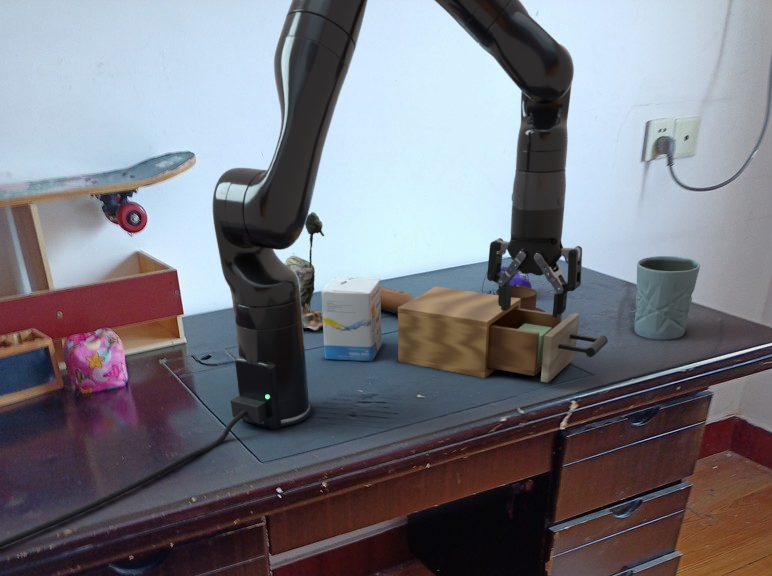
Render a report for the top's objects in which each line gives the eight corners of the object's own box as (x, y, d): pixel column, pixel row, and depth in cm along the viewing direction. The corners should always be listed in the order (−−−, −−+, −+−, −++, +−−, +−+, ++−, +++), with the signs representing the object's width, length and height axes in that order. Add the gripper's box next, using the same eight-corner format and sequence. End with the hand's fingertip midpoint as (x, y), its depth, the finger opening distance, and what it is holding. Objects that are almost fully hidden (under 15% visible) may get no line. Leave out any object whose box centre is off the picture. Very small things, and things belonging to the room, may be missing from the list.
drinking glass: (699, 336, 144) (712, 266, 137) (650, 344, 141) (661, 274, 135) (664, 319, 152) (674, 253, 146) (617, 327, 149) (625, 259, 143)
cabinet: (517, 352, 140) (520, 298, 135) (484, 378, 130) (487, 321, 126) (435, 337, 147) (435, 286, 142) (398, 361, 137) (397, 307, 132)
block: (539, 364, 129) (541, 336, 127) (511, 359, 131) (513, 331, 129) (549, 355, 133) (552, 327, 130) (523, 350, 135) (524, 323, 132)
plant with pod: (302, 313, 160) (294, 204, 150) (341, 326, 153) (335, 213, 143) (269, 323, 156) (258, 212, 145) (307, 337, 149) (298, 221, 138)
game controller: (547, 274, 166) (527, 275, 158) (529, 311, 170) (509, 315, 162) (506, 252, 169) (485, 253, 161) (490, 290, 173) (469, 292, 165)
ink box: (372, 362, 138) (370, 292, 131) (323, 359, 139) (319, 290, 133) (383, 344, 145) (381, 277, 138) (336, 342, 146) (332, 275, 140)
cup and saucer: (517, 341, 144) (519, 306, 141) (467, 325, 152) (469, 292, 149) (561, 325, 151) (564, 291, 147) (511, 310, 159) (513, 278, 155)
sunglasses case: (445, 311, 158) (434, 285, 152) (424, 337, 156) (412, 312, 151) (377, 294, 168) (365, 269, 163) (357, 318, 166) (344, 294, 161)
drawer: (610, 363, 132) (615, 319, 128) (585, 389, 123) (590, 342, 119) (492, 343, 141) (494, 301, 137) (462, 366, 132) (463, 322, 128)
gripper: (594, 201, 119) (583, 312, 128) (503, 194, 125) (498, 300, 134) (576, 211, 114) (566, 326, 122) (482, 203, 120) (478, 313, 129)
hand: (530, 312), depth 128 cm, fingers open, 8 cm apart
